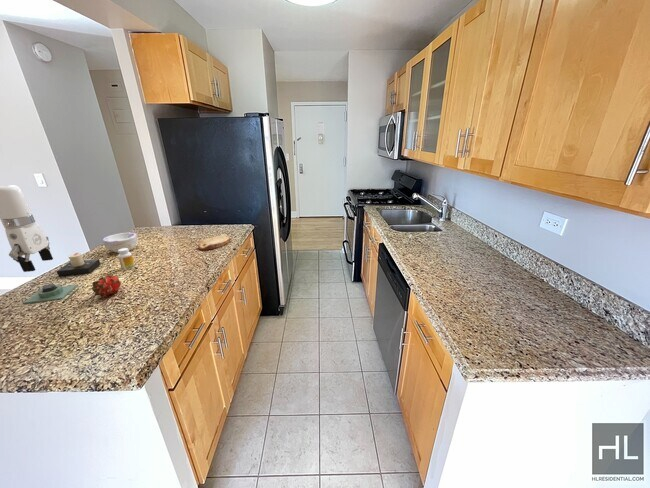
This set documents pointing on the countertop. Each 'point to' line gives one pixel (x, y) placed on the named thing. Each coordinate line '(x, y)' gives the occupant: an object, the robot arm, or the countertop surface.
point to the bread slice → (214, 242)
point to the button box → (52, 294)
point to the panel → (79, 268)
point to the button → (49, 288)
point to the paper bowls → (120, 241)
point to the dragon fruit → (106, 285)
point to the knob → (76, 260)
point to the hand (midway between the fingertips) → (39, 265)
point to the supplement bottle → (125, 259)
